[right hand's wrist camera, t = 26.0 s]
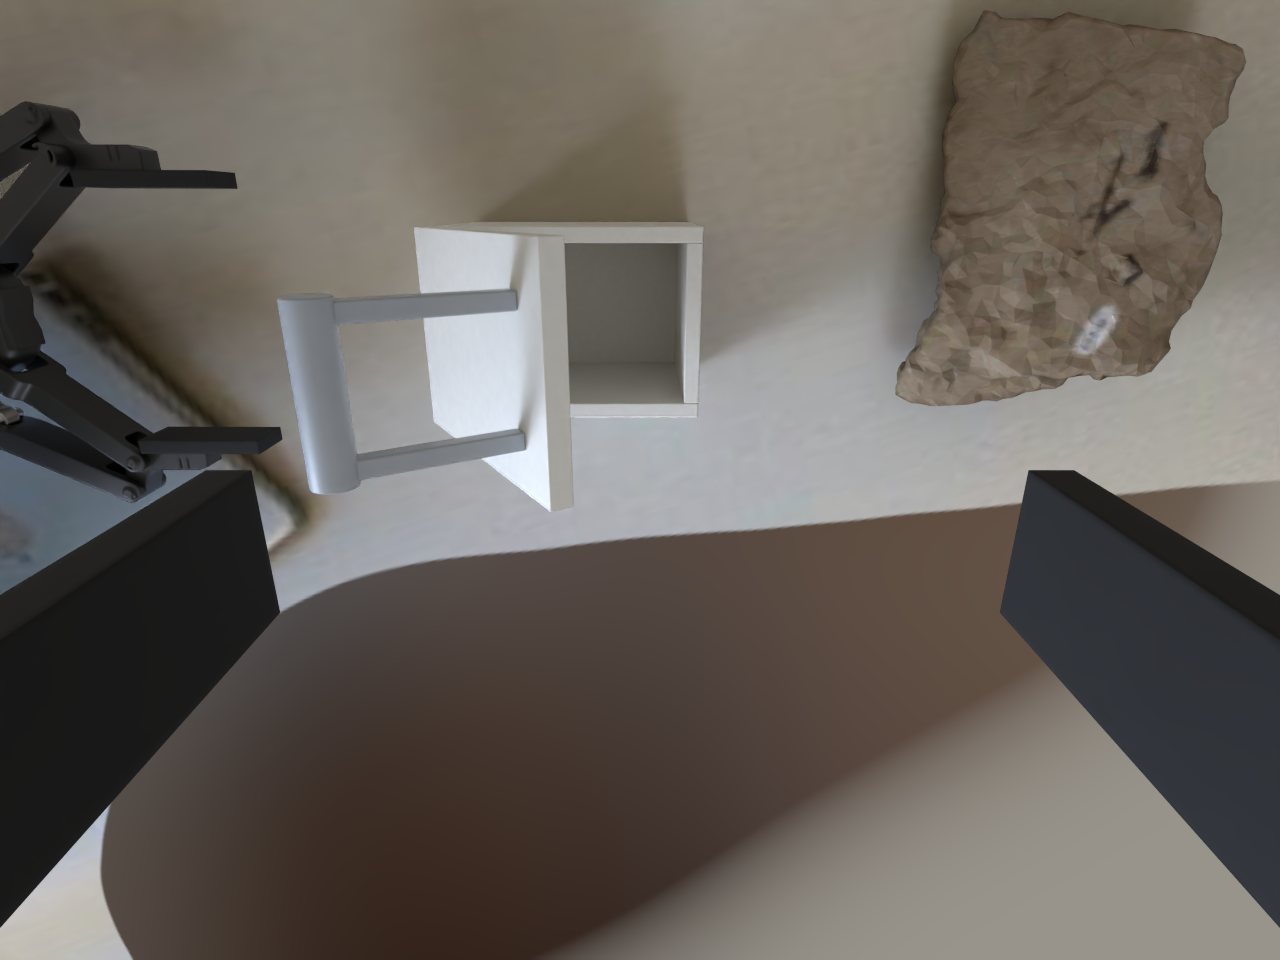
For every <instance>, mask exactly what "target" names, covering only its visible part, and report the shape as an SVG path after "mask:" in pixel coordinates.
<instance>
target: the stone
mask: <svg viewBox="0 0 1280 960" xmlns="http://www.w3.org/2000/svg"><path fill="white" fill-rule="evenodd" d="M1245 63H1246V60H1245V56H1244V52H1243V49H1242V48H1240V47H1239V46H1237V45H1236V44H1230V43H1227V42H1225V41H1223V40H1220V39H1218V38H1215V37H1210V36H1206V35H1202V34H1197V33H1192V32H1187V31H1182V30H1177V29H1167V30H1159V29H1154V28H1149V27H1144V26H1137V25H1124V26H1123V25H1119V24H1115V23H1111V22H1107V21H1104V20H1099V19H1094V18H1089V17H1084V16H1080V15H1077V14H1073V13H1070V12H1068V13H1065V14H1063V15H1061V16H1059V17H1057V18H1054V19H1046V18H1030V19H1002V18H1001V17H1000V16H999V15H998V14H997V13H995V12H990V11H984V12H983V13H982V15H981V17H980V19H979V20H978V23H977V25H976V27H975V29H974V30H973V31H972V32H971V33H970V34H969V35H968V36H967V37H966V38H965V39H964V40H963V41H962V43H961V45H960V46H959V50H958V53H957V55H956V57H955V60H954V66H953V81H952V83H953V92H954V96H955V105H954V106H953V107H952V109H951V110H950V112H949V115H948V120H947V123H946V126H945V128H944V131H943V134H942V151H943V155H944V158H945V164H944V186H945V189H946V191H945V193H944V195H943V197H942V199H941V215H940V217H939V219H938V222H937V226H936V229H935V231H934V234H933V236H932V238H931V251H932V252H933V253H935V254H936V255H938V256H939V257H940V260H941V263H942V264H941V266H940V268H939V270H938V285H937V288H936V293H937V295H938V300H937V301H936V303H935V309H934V312H933V313H932V315H931V316H930V317H929V318H928V319H926V320H924V321H923V324H922V326H921V328H920V331H919V333H918V336H917V343H916V346H915V348H914V349H913V350H912V351H911V352H910V353H909V355H908V356H907V358H906V361H905V362H902V363H901V365H900V367H899V368H898V372H897V385H896V395H897V396H899V397H901V398H903V399H905V400H906V401H908V402H910V403H919V404H924V405H929V406H944V405H964V404H971V403H976V402H979V401H982V400H991V401H998V400H1001V399H1004V398H1012V397H1015V396H1017V395H1020V394H1022V393H1025V392H1030V391H1037V390H1041V389H1055V388H1057V387H1059V386H1061V385H1063V383H1064V382H1065V381H1066V380H1067V378H1069V377H1075V376H1081V375H1090V376H1091V377H1092V378H1093V379H1096V380H1102V379H1104V378H1106V377H1115V376H1141V375H1144V374H1147V373H1149V372H1151V371H1152V370H1153V369H1154V368H1155V367H1156V365H1157V364H1158V363H1159V362H1160V361H1161V360H1162V359H1163V357H1164V356H1165V355H1166V354H1167V353H1168V352H1169V350H1170V344H1169V339H1170V334H1171V330H1172V329H1173V327H1174V326H1175V324H1176V323H1177V321H1178V320H1179V318H1180V317H1181V316H1182V315H1183V314H1184V313H1185V312H1186V311H1187V310H1189V309H1190V308H1191V305H1192V301H1193V299H1194V298H1195V296H1196V295H1197V294H1198V292H1199V291H1200V289H1201V288H1202V286H1203V284H1204V282H1205V280H1206V278H1207V275H1208V273H1209V271H1210V268H1211V265H1212V263H1213V260H1214V257H1215V255H1216V252H1217V248H1218V245H1219V242H1220V238H1221V235H1222V234H1221V224H1222V214H1223V213H1222V206H1221V203H1220V201H1219V199H1218V197H1217V196H1216V195H1215V194H1213V193H1212V191H1211V190H1210V188H1209V186H1208V185H1207V181H1206V178H1205V170H1206V163H1205V159H1204V155H1203V145H1204V141H1205V139H1206V138H1207V137H1208V135H1209V134H1210V133H1211V131H1212V130H1213V129H1215V128H1216V127H1218V126H1219V125H1221V124H1223V123H1224V122H1225V121H1226V120H1227V119H1228V104H1229V99H1230V95H1231V93H1232V90H1233V88H1234V85H1235V82H1236V79H1237V78H1238V77H1239V75H1240V74H1241V72H1242V71H1243V69H1244V66H1245Z"/></svg>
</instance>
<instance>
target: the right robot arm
mask: <svg viewBox="0 0 1280 960" xmlns="http://www.w3.org/2000/svg"><path fill="white" fill-rule="evenodd" d="M279 613H280V610H279V605H278V600H277V595H276V590H275V585H274V580H273V575H272V570H271V565H270V560H269V555H268V550H267V545H266V540H265V536H264V531H263V526H262V521H261V516H260V511H259V506H258V501H257V496H256V491H255V486H254V481H253V476H252V471H251V470H206V471H204V472H202V473H201V474H199V475H198V476H196V477H194V478H193V479H191V480H189V481H188V482H186V483H184V484H183V485H181V486H179V487H178V488H176V489H174V490H173V491H171V492H169V493H168V494H166V495H165V496H163V497H161V498H160V499H158V500H156V501H155V502H153V503H151V504H150V505H148V506H146V507H145V508H143V509H141V510H140V511H138V512H136V513H135V514H133V515H132V516H130V517H128V518H127V519H125V520H123V521H122V522H120V523H118V524H117V525H115V526H113V527H112V528H110V529H108V530H107V531H105V532H103V533H102V534H100V535H99V536H97V537H95V538H94V539H92V540H90V541H89V542H87V543H85V544H84V545H82V546H80V547H79V548H77V549H75V550H74V551H72V552H70V553H69V554H67V555H66V556H64V557H62V558H61V559H59V560H57V561H56V562H54V563H52V564H51V565H49V566H47V567H46V568H44V569H42V570H41V571H39V572H37V573H36V574H34V575H33V576H31V577H29V578H28V579H26V580H24V581H23V582H21V583H19V584H18V585H16V586H14V587H13V588H11V589H9V590H8V591H6V592H5V593H3V594H1V595H0V927H1V926H2V925H3V924H4V923H5V922H6V921H7V919H8V918H9V917H10V916H11V915H12V914H13V913H14V912H15V910H16V909H17V908H18V907H19V906H20V905H21V904H22V903H23V901H24V900H25V899H26V898H27V897H28V896H29V895H30V894H31V892H32V891H33V890H34V889H35V888H36V887H37V886H38V885H39V883H40V882H41V881H42V880H43V879H44V878H45V877H46V876H47V874H48V873H49V872H50V871H51V870H52V869H53V868H54V867H55V865H56V864H57V863H58V862H59V861H60V860H61V859H62V858H63V856H64V855H65V854H66V853H67V852H68V851H69V850H70V849H71V847H72V846H73V845H74V844H75V843H76V842H77V841H78V840H79V838H80V837H81V836H82V835H83V834H84V833H85V832H86V831H87V829H88V828H89V827H90V826H91V825H92V824H93V823H94V822H95V820H96V819H97V818H98V817H99V816H100V815H101V814H102V813H103V811H104V810H105V809H106V808H107V807H108V806H109V805H110V803H111V802H112V801H113V800H114V799H115V798H116V797H117V796H118V794H119V793H120V792H121V791H122V790H123V789H124V788H125V787H126V785H127V784H128V783H129V782H130V781H131V780H132V779H133V778H134V776H135V775H136V774H137V773H138V772H139V771H140V770H141V769H142V767H143V766H144V765H145V764H146V763H147V762H148V761H149V760H150V758H151V757H152V756H153V755H154V754H155V753H156V752H157V751H158V749H159V748H160V747H161V746H162V745H163V744H164V743H165V742H166V740H167V739H168V738H169V737H170V736H171V735H172V734H173V733H174V731H175V730H176V729H177V728H178V727H179V726H180V725H181V724H182V722H183V721H184V720H185V719H186V718H187V717H188V716H189V715H190V713H191V712H192V711H193V710H194V709H195V708H196V707H197V706H198V704H199V703H200V702H201V701H202V700H203V699H204V698H205V697H206V695H207V694H208V693H209V692H210V691H211V690H212V689H213V688H214V686H215V685H216V684H217V683H218V682H219V681H220V680H221V679H222V677H223V676H224V675H225V674H226V673H227V672H228V671H229V669H230V668H231V667H232V666H233V665H234V664H235V663H236V662H237V660H238V659H239V658H240V657H241V656H242V655H243V654H244V653H245V651H246V650H247V649H248V648H249V647H250V646H251V645H252V644H253V642H254V641H255V640H256V639H257V638H258V637H259V636H260V635H261V633H262V632H263V631H264V630H265V629H266V628H267V627H268V626H269V624H270V623H271V622H272V621H273V620H274V619H275V618H276V617H277V615H278V614H279ZM1000 613H1001V614H1002V615H1003V617H1004V618H1005V619H1006V620H1007V621H1008V622H1009V623H1010V624H1011V626H1012V627H1013V628H1014V629H1015V630H1016V631H1017V632H1018V633H1019V635H1020V636H1021V637H1022V638H1023V639H1024V640H1025V641H1026V642H1027V644H1028V645H1029V646H1030V647H1031V648H1032V649H1033V650H1034V651H1035V653H1036V654H1037V655H1038V656H1039V657H1040V658H1041V659H1042V660H1043V662H1044V663H1045V664H1046V665H1047V666H1048V667H1049V668H1050V669H1051V671H1052V672H1053V673H1054V674H1055V675H1056V676H1057V677H1058V679H1059V680H1060V681H1061V682H1062V683H1063V684H1064V685H1065V686H1066V688H1067V689H1068V690H1069V691H1070V692H1071V693H1072V694H1073V695H1074V697H1075V698H1076V699H1077V700H1078V701H1079V702H1080V703H1081V704H1082V706H1083V707H1084V708H1085V709H1086V710H1087V711H1088V712H1089V713H1090V715H1091V716H1092V717H1093V718H1094V719H1095V720H1096V721H1097V722H1098V724H1099V725H1100V726H1101V727H1102V728H1103V729H1104V730H1105V731H1106V733H1107V734H1108V735H1109V736H1110V737H1111V738H1112V739H1113V740H1114V742H1115V743H1116V744H1117V745H1118V746H1119V747H1120V748H1121V749H1122V751H1123V752H1124V753H1125V754H1126V755H1127V756H1128V757H1129V758H1130V760H1131V761H1132V762H1133V763H1134V764H1135V765H1136V766H1137V767H1138V769H1139V770H1140V771H1141V772H1142V773H1143V774H1144V775H1145V776H1146V778H1147V779H1148V780H1149V781H1150V782H1151V783H1152V784H1153V785H1154V787H1155V788H1156V789H1157V790H1158V791H1159V792H1160V793H1161V794H1162V796H1163V797H1164V798H1165V799H1166V800H1167V801H1168V802H1169V803H1170V805H1171V806H1172V807H1173V808H1174V809H1175V810H1176V811H1177V812H1178V814H1179V815H1180V816H1181V817H1182V818H1183V819H1184V820H1185V822H1186V823H1187V824H1188V825H1189V826H1190V827H1191V828H1192V829H1193V830H1194V832H1195V833H1196V834H1197V835H1198V836H1199V837H1200V838H1201V839H1202V841H1203V842H1204V843H1205V844H1206V845H1207V846H1208V847H1209V849H1210V850H1211V851H1212V852H1213V853H1214V854H1215V855H1216V856H1217V858H1218V859H1219V860H1220V861H1221V862H1222V863H1223V864H1224V865H1225V866H1226V868H1227V869H1228V870H1229V871H1230V872H1231V873H1232V874H1233V876H1234V877H1235V878H1236V879H1237V880H1238V881H1239V882H1240V883H1241V885H1242V886H1243V887H1244V888H1245V889H1246V890H1247V891H1248V892H1249V894H1250V895H1251V896H1252V897H1253V898H1254V899H1255V900H1256V901H1257V903H1258V904H1259V905H1260V906H1261V907H1262V908H1263V909H1264V910H1265V912H1266V913H1267V914H1268V915H1269V916H1270V917H1271V918H1272V919H1273V921H1274V922H1275V923H1276V924H1277V925H1278V926H1279V927H1280V595H1279V594H1277V593H1275V592H1274V591H1272V590H1271V589H1269V588H1267V587H1266V586H1264V585H1262V584H1261V583H1259V582H1257V581H1256V580H1254V579H1252V578H1251V577H1249V576H1247V575H1246V574H1244V573H1242V572H1241V571H1239V570H1238V569H1236V568H1234V567H1233V566H1231V565H1229V564H1228V563H1226V562H1224V561H1223V560H1221V559H1219V558H1218V557H1216V556H1214V555H1213V554H1211V553H1210V552H1208V551H1206V550H1205V549H1203V548H1201V547H1200V546H1198V545H1196V544H1195V543H1193V542H1191V541H1190V540H1188V539H1186V538H1185V537H1183V536H1181V535H1180V534H1178V533H1177V532H1175V531H1173V530H1172V529H1170V528H1168V527H1167V526H1165V525H1163V524H1162V523H1160V522H1158V521H1157V520H1155V519H1153V518H1152V517H1150V516H1148V515H1147V514H1145V513H1144V512H1142V511H1140V510H1139V509H1137V508H1135V507H1134V506H1132V505H1130V504H1129V503H1127V502H1125V501H1124V500H1122V499H1120V498H1119V497H1117V496H1115V495H1114V494H1112V493H1111V492H1109V491H1107V490H1106V489H1104V488H1102V487H1101V486H1099V485H1097V484H1096V483H1094V482H1092V481H1091V480H1089V479H1087V478H1086V477H1084V476H1082V475H1081V474H1079V473H1078V472H1076V471H1074V470H1029V471H1028V476H1027V481H1026V486H1025V491H1024V496H1023V501H1022V506H1021V511H1020V516H1019V521H1018V526H1017V531H1016V535H1015V540H1014V545H1013V550H1012V555H1011V560H1010V565H1009V570H1008V575H1007V580H1006V585H1005V590H1004V595H1003V600H1002V605H1001V610H1000Z"/></svg>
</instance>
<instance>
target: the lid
mask: <svg viewBox="0 0 1280 960" xmlns="http://www.w3.org/2000/svg"><path fill="white" fill-rule="evenodd" d="M414 234H415V244H416V253H417V263H418V272H419V282H420V292H421V294H404V295H387V296H370V297H353V298H337V299H334V296H333V295H331V294H323V293H306V294H291V295H284V296H280V297H277V305H278V310H279V316H280V322H281V328H282V333H283V339H284V345H285V351H286V356H287V362H288V368H289V374H290V379H291V385H292V391H293V397H294V403H295V408H296V414H297V420H298V426H299V431H300V437H301V443H302V449H303V454H304V460H305V466H306V472H307V477H308V483H309V489H310V490H311V491H312V492H313V493H316V494H338V493H343V492H347V491H350V490H353V489H355V488H357V487H358V486H359V485H360V483H361V480H364V479H370V478H375V477H381V476H386V475H392V474H398V473H403V472H409V471H414V470H420V469H425V468H431V467H436V466H442V465H448V464H453V463H459V462H464V461H470V460H475V459H481V458H482V459H483V460H484V461H485V462H487V463H488V464H489V465H491V466H492V467H493V468H494V469H496V470H497V471H498V472H500V473H501V474H502V475H503V476H505V477H506V478H507V479H509V480H510V481H511V482H512V483H514V484H515V485H516V486H518V487H519V488H520V489H522V490H523V491H524V492H525V493H527V494H528V495H529V496H531V497H532V498H533V499H534V500H536V501H537V502H538V503H540V504H541V505H542V506H543V507H545V508H546V509H547V510H549V511H550V512H553V511H557V510H561V509H566V508H570V507H573V506H574V501H573V472H572V444H571V415H570V387H569V359H568V330H567V302H566V274H565V245H564V236H563V235H550V234H536V233H521V232H507V231H493V230H478V229H464V228H449V227H435V226H426V227H414ZM422 318H423V320H424V330H425V339H426V349H427V359H428V368H429V378H430V387H431V397H432V406H433V416H434V422H435V423H437V424H438V425H439V426H440V427H442V428H443V429H444V430H446V431H447V432H448V433H449V434H451V435H452V436H453V437H455V438H454V439H448V440H442V441H436V442H430V443H424V444H417V445H411V446H405V447H399V448H393V449H387V450H381V451H374V452H368V453H362V454H357V452H356V445H355V438H354V431H353V425H352V418H351V411H350V404H349V397H348V390H347V383H346V377H345V370H344V363H343V356H342V349H341V342H340V336H339V329H338V325H343V324H356V323H369V322H382V321H395V320H408V319H422Z"/></svg>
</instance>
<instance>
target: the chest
mask: <svg viewBox="0 0 1280 960" xmlns="http://www.w3.org/2000/svg"><path fill="white" fill-rule="evenodd" d="M435 227H449V228H464V229H478V230H493V231H507V232H521V233H536V234H550V235H563V236H564V245H565V274H566V302H567V330H568V359H569V387H570V415H571V417H698V402H699V368H700V333H701V299H702V265H703V230H704V228H703V226H700V225H697V224H693V223H690V222H470V223H459V224H448V225H436V226H435Z"/></svg>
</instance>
